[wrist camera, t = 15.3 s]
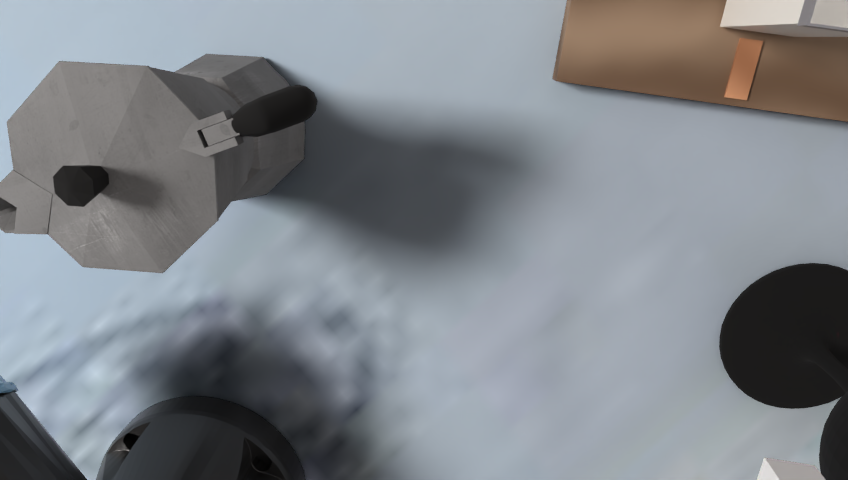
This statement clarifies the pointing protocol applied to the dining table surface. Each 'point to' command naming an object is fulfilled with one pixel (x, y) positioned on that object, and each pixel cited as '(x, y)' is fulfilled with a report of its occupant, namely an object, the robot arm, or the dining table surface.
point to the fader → (788, 17)
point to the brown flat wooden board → (700, 57)
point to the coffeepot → (147, 154)
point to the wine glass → (795, 348)
